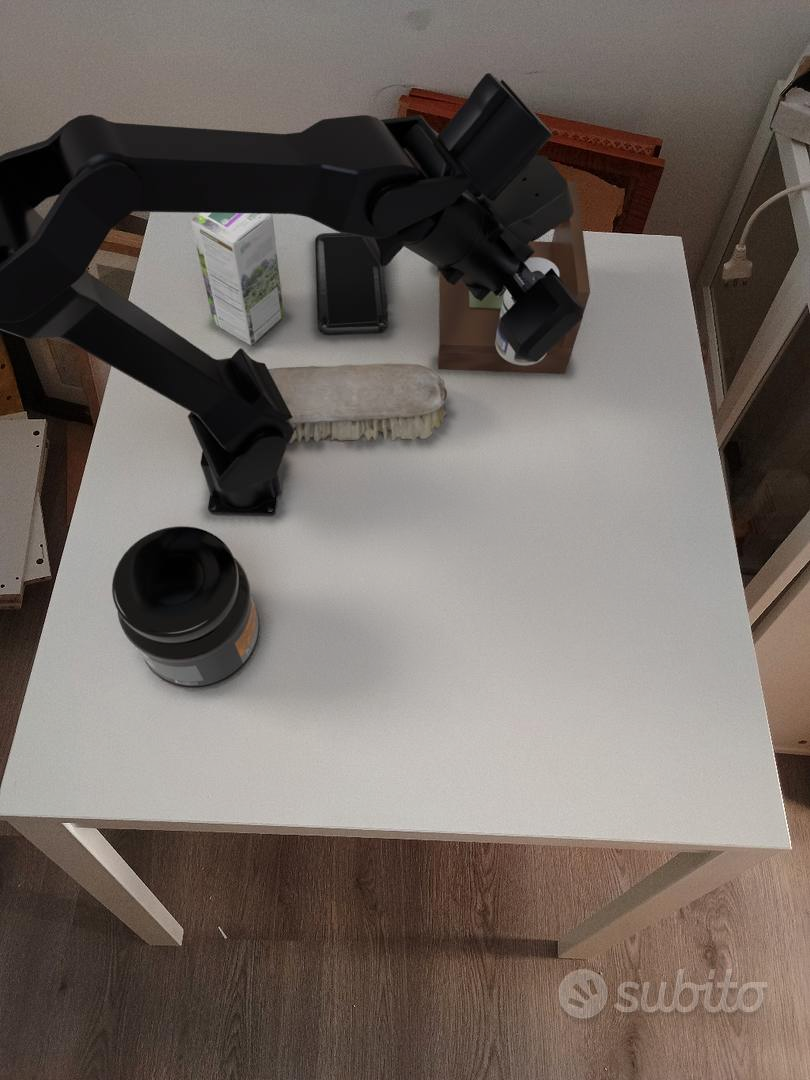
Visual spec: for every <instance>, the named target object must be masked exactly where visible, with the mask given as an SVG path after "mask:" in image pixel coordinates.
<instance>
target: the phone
mask: <svg viewBox="0 0 810 1080" xmlns="http://www.w3.org/2000/svg"><path fill="white" fill-rule="evenodd" d="M314 244H315V245H314V248H315V249H314V250H315V280H316V281H315V282H316V283H315V284H316V316H317V317H316V318H317V319H316V320H317V329H318V331H319V332H320V333H321V334H322V335H325V336H338V335H339V336H341V335H365V334H367V335H369V334H382V333H383V332H385V331H387V329H388V326H389V325H388V324H389V322H388V321H389V320H388V319H389V313H388V298H387V292H386V291H387V290H386V283H385V270H384V269H385V266H384V267H383V266H381V265H380V264H379V263H378V261H377V260H376V258H375V256H374V255H373V253H372V252H371V250H370V249H369V247H368V246H367V244H366V243H365V241H364V240H363V238H362V236H357V235H351V234H346V233H341V232H324V233H323V232H322V233H320V234H318V235H317V236H316V237H315V239H314Z"/></svg>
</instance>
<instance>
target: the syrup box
mask: <svg viewBox="0 0 810 1080" xmlns="http://www.w3.org/2000/svg"><path fill="white" fill-rule="evenodd" d="M190 225H191V229H192V233H193V238H194V243H195V246H196V251H197V255H198V260H199V265H200V269H201V274H202V278H203V282H204V286H205V287H204V288H205V290H206V291H205V292H206V296H207V301H208V305H209V309H210V314H211V319H212V322H213V324H214V325H215V326H217V327H218V328H220V329H222V330H223V331H225V332H227V333H228V334H230V335H232V336H233V337H235V338H237V339H238V340H240V341H242V342H244V343H245V344H247V345H249V346H250V347H252V346H254V345H255V344H256V343H257V342H258V341H260V339H261V338H263V337H264V336H265V335H266V334H267V333H268V332H269V331H270V330H271V329H272V328H273V327H275V326H276V325H277V324H278V323H279V322H281V320H283V318H284V317H285V314H284V313H285V311H284V304H283V296H282V287H281V286H282V285H281V278H280V270H279V262H278V261H279V259H278V251H277V244H276V243H277V242H276V233H275V225H274V217H273V214H252V213H197V215H196V216H194V217H193V218H191V220H190Z"/></svg>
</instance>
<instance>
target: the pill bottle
mask: <svg viewBox="0 0 810 1080" xmlns="http://www.w3.org/2000/svg"><path fill="white" fill-rule="evenodd" d="M525 264H526V266H527V267H528V268H529V270H530V271H531V272H534V271H541V272H542V273H543V274H544V275H545V274H546V273H547V272H548V271H549V270H550V269H551V268H552V269H553V270H554V271H555V273H556V274H557V275H558V276H559V270H558V268H557V267H556V265H555V264H554V263H552V262H551V261H549V260H547V259H544V258H539V257H532V258H529V259H528V260H527V261H526V262H525ZM515 275H516V276H517V277H518V279H519V280H520V281H521V283H522V284H523V285H524V283H523V281H522V280H521V279H520V277H519V276H518V274H515ZM511 297H512V296H511V294H510V293H509V291H508V290H507V289H506V291H505V293H504V295H503V301H502V306H501V312H500V317H499V323H498V328H497V334H496V341H495V344H496V349H497V351H498V353H499V354H500V356H501V357H503V358H504V359H505V360H507V361H508V362H510V363H513V364H517V365H532V364H535V363H537V362H528V361H526V360H524V359H522V358H520V357H518V356H517V354H516V353H515V351H514V350H513V349H512V347H511V346H510V344H509V343H508V342H507V340H506V339H505V337H504V336H503V335H502V333H501V332H500V330H499V324H500V318H501V317H502V316H503V315H504V314H505V313H506V312H507V311H508V310H509V309H510V308H511V307H512V305H513V304H514V303H513V300H512V299H511ZM546 354H547V353H546ZM546 354H545V355H546ZM545 355H544V356H543V357H542V358H541V359H540V360H539V361H541V360H542V359H543V358H544V357H545ZM539 361H538V362H539Z"/></svg>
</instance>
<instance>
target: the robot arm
mask: <svg viewBox="0 0 810 1080" xmlns="http://www.w3.org/2000/svg"><path fill="white" fill-rule="evenodd" d="M471 91H472V92H471V93H470V95H469V97H468V98H467V100H466V101H465V102H464V103H463V104H462V106H461V107H460V108H459V109H458V110H457V112H456V113H455V115H453V116H452V118H451V119H450V120H449V121H448V122H447V124H446V125H445V126H444V127H443V129H442V130H441V131H440V132H439V133H438V132H437V131H436V130H435V129H433V128H432V127H431V126H430V125H429V123H428V121H426V119H425V118H424V117H423V115H421V114H416V115H415V114H414V115H408V116H400V117H392V118H383V119H380V118H378V117H375V116H372V115H367V114H359V115H351V116H342V117H331V118H323V119H321V120H319V121H317V122H315V123H313V124H312V125H310V126H309V127H307V128H305V129H304V130H302V131H300V132H289V133H272V132H260V131H257V132H256V131H243V130H229V129H216V128H215V129H212V128H200V127H199V128H198V127H183V126H170V125H168V126H167V125H154V124H139V123H124V122H114V121H110V120H107V119H106V118H104V117H102V116H99V115H95V114H85V115H84V114H82V115H78V116H75V117H74V118H72V119H70V120H69V121H67V122H66V123H65V124H64V125H62V126H61V127H60V128H59V129H58V130H56V131H55V132H54V133H53V134H52V135H50V136H49V137H48V138H46V139H45V140H42V141H38V142H36V143H32V144H30V145H26V146H23V147H20V148H17V149H14V150H11V151H7V152H5V153H2V154H1V155H0V331H3V332H5V333H8V334H11V335H14V336H17V337H19V338H22V339H27V340H41V339H56V338H60V339H62V340H65V341H67V342H69V343H70V344H72V345H74V346H76V347H78V348H79V349H81V350H82V351H84V352H86V353H87V354H89V355H91V356H93V357H95V358H97V359H98V360H100V361H102V362H103V363H105V364H107V365H108V366H110V367H112V368H114V369H115V370H117V371H119V372H121V373H122V374H124V375H126V376H127V377H130V378H131V379H134V380H135V381H136V382H139V383H140V384H141V385H143V386H146V387H147V388H149V389H150V390H153V392H156V393H157V394H159V395H161V396H163V397H164V398H166V399H168V400H169V401H171V402H173V403H174V404H176V405H177V406H180V407H182V408H184V409H186V410H187V411H189V413H188V415H187V418H188V420H189V423H190V426H191V428H192V430H193V432H194V434H195V437H196V439H197V441H198V443H199V446H200V448H201V450H202V451H201V456H200V457H201V458H200V467H201V470H202V473H203V475H204V479H205V481H206V485H207V487H208V488H207V489H208V491H209V494H210V495H209V499H208V505H207V510H208V512H209V514H211V515H223V516H224V515H225V516H226V515H227V516H255V517H257V516H259V517H272V516H275V514H276V513H277V506H278V505H277V504H278V498H279V497H281V496H282V495H283V487H284V486H283V485H284V475H285V474H284V468H283V462H282V461H283V459H284V458H283V457H284V455H285V452H286V449H287V446H288V444H290V443H289V441H290V440H291V438H292V435H293V434H294V428H293V426H292V424H291V422H290V420H289V419H291V418H292V415H291V413H290V411H289V409H288V407H287V405H286V403H285V401H284V399H283V397H282V395H281V393H280V392H279V390H278V388H277V386H276V384H275V382H274V380H273V378H272V376H271V374H270V372H269V370H268V369H269V368H268V366H267V365H266V363H264V362H260V361H257V360H254V359H253V358H252V357H251V356H249V355H248V353H247V352H246V351H245V350H244V349H243V348H240V347H239V349H237V351H236V352H234V354H233V355H232V356H231V357H225V358H219V359H216V358H214V357H212V356H211V355H209V354H208V353H206V352H205V351H204V350H202V349H200V348H199V347H197V346H196V345H195V344H193V343H191V341H189V340H187V339H186V338H184V337H183V336H182V335H180V334H179V333H177V332H176V331H174V330H173V329H172V328H171V327H168V326H167V325H165V324H164V323H163V322H161V321H159V320H158V319H157V318H155V317H154V316H152V315H151V314H149V313H148V312H147V311H145V310H144V309H142V308H141V307H140V306H138V305H136V303H133V302H132V301H131V300H129V299H127V298H126V297H125V296H123V295H122V294H120V293H119V292H118V291H116V290H114V289H113V288H112V287H110V286H109V285H107V284H106V283H104V282H103V281H102V280H100V279H98V278H97V277H96V276H94V275H93V274H91V273H90V272H89V271H87V269H88V267H89V266H90V264H91V262H92V261H93V260H94V258H95V256H96V254H97V253H98V251H99V250H100V248H101V246H102V244H103V243H104V241H105V239H106V238H107V236H108V235H109V233H110V232H111V230H112V229H113V228H114V227H116V226H117V225H119V224H120V223H121V222H122V221H123V220H125V219H126V218H127V217H129V216H130V215H131V214H132V213H185V214H186V213H188V214H199V213H252V214H272V215H294V216H300V217H305V218H308V219H311V220H313V221H314V222H317V223H318V224H321V225H323V226H325V227H327V228H329V229H331V230H333V231H335V232H337V233H346V234H351V235H357V236H362V238H363V240H364V241H365V243H366V244H367V246H368V247H369V249H370V250H371V252H372V253H373V255H374V256H375V258H376V260H377V261H378V263H379V264H380V265H381V266H383V267H384V268H385V267H387V266H388V265H389V264H390V262H392V260H393V259H394V258H395V257H397V254H398V253H399V252H400V251H402V249H403V248H406V249H408V250H409V251H411V252H413V254H416V255H418V256H419V257H421V258H423V259H424V260H426V261H428V262H429V263H431V264H433V266H435V267H436V268H437V270H438V269H439V271H440V272H441V273H442V275H443V276H444V278H445V279H446V281H447V282H449V283H450V284H452V285H455V284H456V283H457V282H458V281H459V280H461V281H462V282H464V283H465V285H466V286H467V287H468V289H469V290H470V292H471V293H472V294H473V296H474V297H475V298H476V299H478V300H480V301H482V300H483V299H484V298H485V297H486V296H487V295H488V294H489V293H490V292H491V291H492V292H493V293H494V294H495V296H497V297H501V296H502V295H503V294H504V293H505V291H506V289H507V290H508V291H509V293H510V294H511V296H512V297H511V299H512V300H513V303H514V304H513V305H512V307H511V308H510V309H509V310H508V311H507V312H506V313H505V314H504V315H503V316H502V317H501V318H500V324H499V330H500V332H501V333H502V335H503V336H504V337H505V339H506V340H507V342H508V343H509V344H510V346H511V347H512V349H513V350H514V351H515V353H516V354H517V356H518V357H520V358H522V359H524V360H526V361H528V362H538V361H539V360H540V359H541V358H542V357H543V356H544V355H545V354H546V353H547V352H548V351H549V350H550V349H551V348H552V347H553V346H554V345H555V344H556V343H558V342H559V341H560V340H561V339H562V338H563V337H564V336H565V335H566V334H567V333H568V332H569V331H570V330H571V329H572V328H573V327H574V326H575V325H576V324H577V323H578V322H580V321H581V320H583V319H584V314H585V311H584V308H583V307H582V305H581V304H580V303H579V302H578V300H577V299H576V298H575V296H574V295H573V294H572V293H571V291H570V290H569V289H568V288H567V287H566V285H565V284H564V283H563V282H562V280H561V279H560V278H559V276H558V275H557V274H556V273H555V271H554V270H553V269H552V268H551V269H550V270H549V271H548V272H547V273H546V274H545V275H544V274H543V273H542V272H541V271H534V272H531V271H530V270H529V268H528V267H527V266H526V264H525V262H526V261H527V260H528V259H529V258H530V257H531V256H532V255H533V254H534V253H535V251H534V249H533V248H532V247H531V246H530V245H529V244H528V243H529V242H531V241H538V240H539V239H540V238H542V237H543V236H544V235H546V234H547V233H549V232H550V231H552V230H554V229H555V227H556V226H557V225H559V224H560V223H564V222H566V221H567V220H569V219H570V218H571V217H572V215H573V213H574V207H573V203H572V199H571V195H570V191H569V187H568V183H567V181H568V180H566V178H565V176H563V174H562V173H560V171H559V170H558V169H557V168H556V166H555V165H554V164H553V163H552V162H551V160H550V159H549V158H548V157H546V156H545V155H541V154H540V155H539V154H538V153H539V152H540V150H542V148H543V147H544V146H545V145H546V144H547V143H548V142H549V140H551V138H552V137H553V136H554V134H553V133H552V131H551V130H550V129H549V128H548V126H547V125H546V124H545V123H544V122H543V121H542V120H541V118H540V117H539V116H538V115H537V114H536V113H535V112H534V111H533V110H532V109H531V107H530V106H529V105H528V104H527V103H526V102H525V101H524V100H523V99H522V97H520V95H518V94H517V93H516V92H515V91H514V89H512V88H511V86H510V85H509V84H508V83H507V82H506V81H505V80H504V79H501V80H500V79H499V78H497V77H496V76H493V74H492V73H490V72H488V73H485V74H484V76H483V77H482V78H481V79H480V80H479V82H478V83H477V84H476V86H475V87H474V88H473V90H471ZM56 196H57V198H56V199H55V200H54V202H53V203H52V205H51V207H50V209H49V211H48V212H47V213H46V215H45V217H44V218H43V216H41V214H39V213H38V212H37V210H36V208H37V207H38V206H39V205H40V204H42V203H43V202H44V201H45V200H47V199H49V198H53V197H56ZM515 274H518V276H519V277H520V279H521V280H522V281H523V283H524V285H523V284H522V283H521V281H520V280H519V279H518V277H517V276H516V275H515ZM504 286H505V287H506V288H504ZM583 313H584V314H583ZM581 322H582V321H581ZM213 508H214V509H213ZM270 510H271V511H270Z"/></svg>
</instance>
